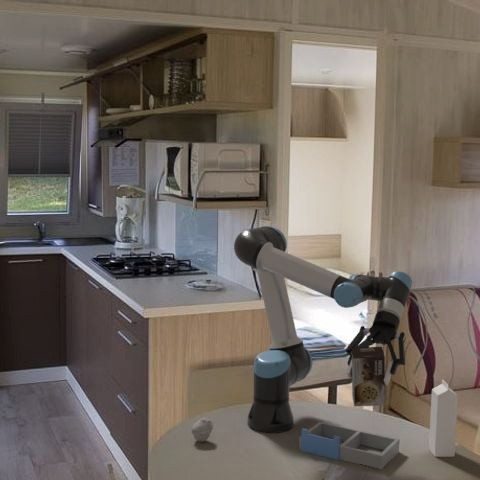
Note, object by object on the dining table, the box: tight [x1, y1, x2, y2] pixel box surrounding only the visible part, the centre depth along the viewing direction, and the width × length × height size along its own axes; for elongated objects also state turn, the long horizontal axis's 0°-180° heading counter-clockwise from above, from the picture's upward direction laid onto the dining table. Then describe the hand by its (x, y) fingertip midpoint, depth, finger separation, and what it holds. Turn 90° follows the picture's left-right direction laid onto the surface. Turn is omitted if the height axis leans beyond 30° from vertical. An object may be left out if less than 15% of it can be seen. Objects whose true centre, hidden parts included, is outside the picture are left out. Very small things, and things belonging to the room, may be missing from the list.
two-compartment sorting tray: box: [298, 421, 401, 470], centre depth 224 cm, size 26×16×7 cm, turn 59°
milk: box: [428, 379, 459, 458], centre depth 223 cm, size 6×6×22 cm
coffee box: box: [351, 346, 386, 407], centre depth 217 cm, size 9×6×16 cm
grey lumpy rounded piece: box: [191, 417, 214, 443], centre depth 229 cm, size 6×7×7 cm
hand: (367, 379), depth 216 cm, fingers closed on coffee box, 11 cm apart
